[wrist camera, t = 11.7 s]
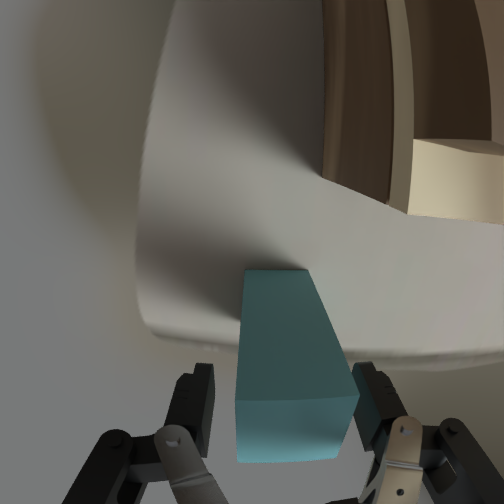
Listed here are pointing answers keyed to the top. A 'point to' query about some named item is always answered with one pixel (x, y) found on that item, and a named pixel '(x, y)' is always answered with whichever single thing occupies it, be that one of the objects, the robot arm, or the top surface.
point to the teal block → (289, 373)
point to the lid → (448, 108)
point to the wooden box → (358, 96)
